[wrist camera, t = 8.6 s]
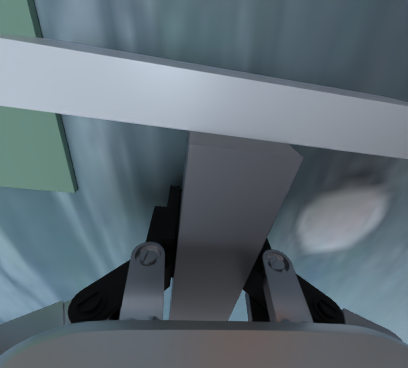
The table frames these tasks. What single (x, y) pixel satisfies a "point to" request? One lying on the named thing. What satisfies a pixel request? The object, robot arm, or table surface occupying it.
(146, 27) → the table surface
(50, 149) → the mat
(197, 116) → the scraper
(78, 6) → the table surface
